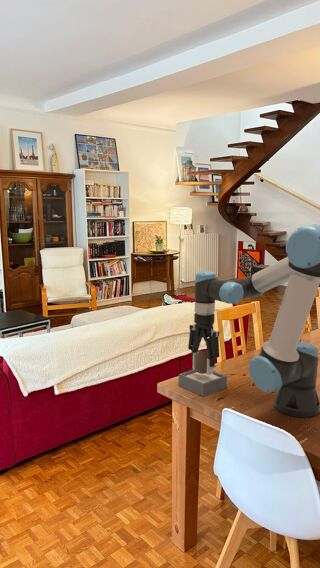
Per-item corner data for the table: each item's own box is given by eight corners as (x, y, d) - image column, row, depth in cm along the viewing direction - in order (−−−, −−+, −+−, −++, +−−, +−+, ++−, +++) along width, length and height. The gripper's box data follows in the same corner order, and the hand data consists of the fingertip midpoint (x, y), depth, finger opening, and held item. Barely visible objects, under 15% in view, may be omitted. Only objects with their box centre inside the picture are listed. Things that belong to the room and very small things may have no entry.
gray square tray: (226, 387, 166) (227, 376, 166) (203, 396, 158) (203, 384, 157) (202, 377, 176) (202, 366, 175) (178, 385, 168) (178, 374, 167)
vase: (190, 373, 165) (191, 351, 163) (197, 367, 171) (198, 346, 169) (207, 376, 162) (208, 354, 160) (214, 370, 168) (215, 349, 166)
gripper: (231, 316, 157) (228, 376, 161) (193, 306, 172) (191, 362, 176) (217, 319, 152) (214, 381, 156) (179, 309, 168) (178, 366, 171)
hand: (202, 371), depth 166 cm, fingers closed on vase, 7 cm apart
